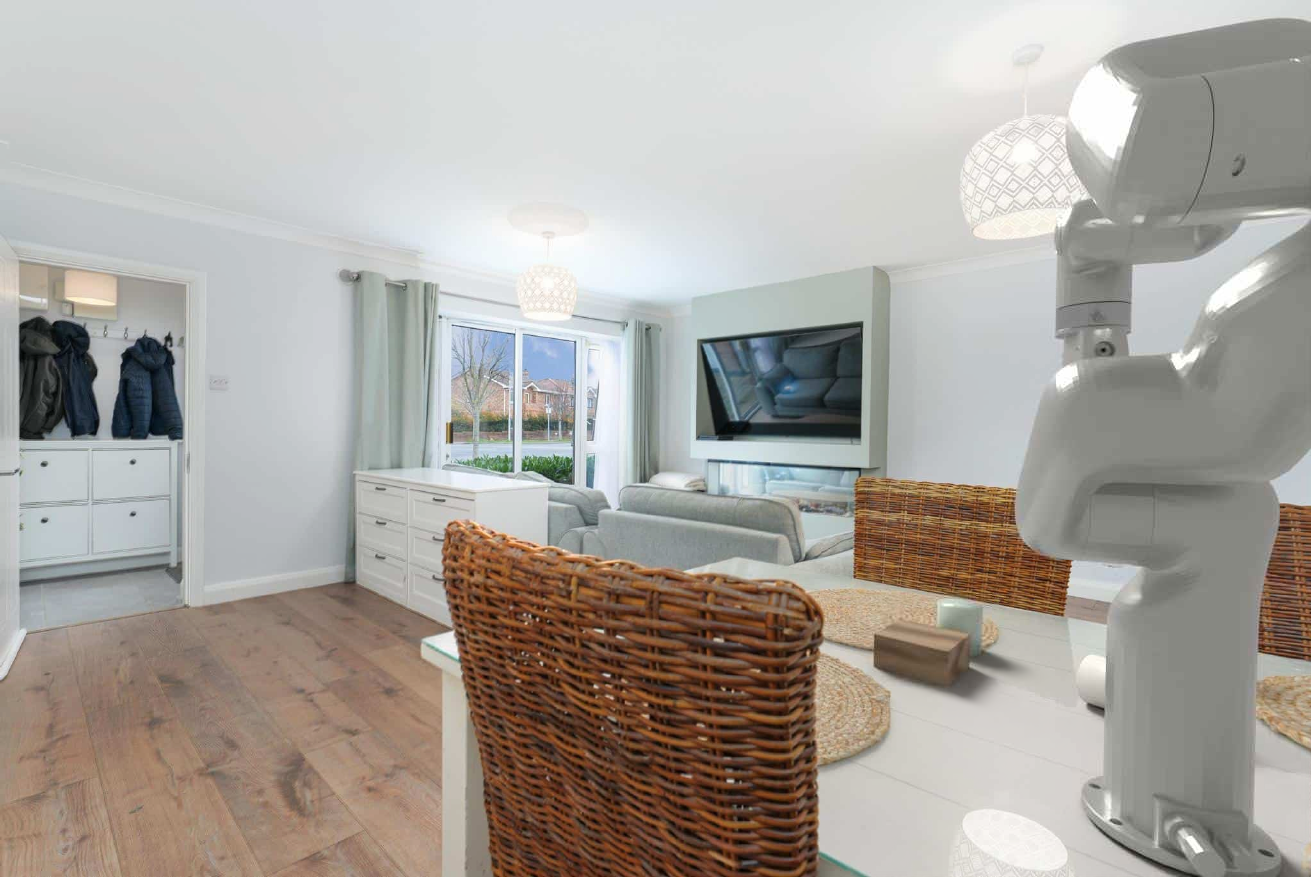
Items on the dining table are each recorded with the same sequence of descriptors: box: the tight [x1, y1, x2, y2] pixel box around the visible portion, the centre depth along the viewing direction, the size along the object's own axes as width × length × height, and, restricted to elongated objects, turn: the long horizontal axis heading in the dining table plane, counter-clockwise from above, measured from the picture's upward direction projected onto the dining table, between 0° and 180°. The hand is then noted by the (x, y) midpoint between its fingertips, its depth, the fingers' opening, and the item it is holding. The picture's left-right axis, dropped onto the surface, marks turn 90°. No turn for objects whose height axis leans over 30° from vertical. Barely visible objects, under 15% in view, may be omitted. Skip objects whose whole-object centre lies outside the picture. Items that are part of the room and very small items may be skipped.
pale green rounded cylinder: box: [936, 598, 984, 657], centre depth 95 cm, size 6×6×7 cm
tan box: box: [873, 618, 971, 688], centre depth 87 cm, size 10×10×5 cm
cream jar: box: [1076, 653, 1106, 710], centre depth 72 cm, size 6×6×9 cm
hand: (1089, 463), depth 74 cm, fingers open, 9 cm apart
